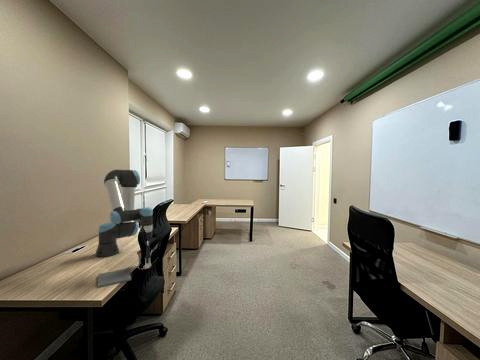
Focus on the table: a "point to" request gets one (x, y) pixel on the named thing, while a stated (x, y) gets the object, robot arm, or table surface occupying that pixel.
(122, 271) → the slate board
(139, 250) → the mug
